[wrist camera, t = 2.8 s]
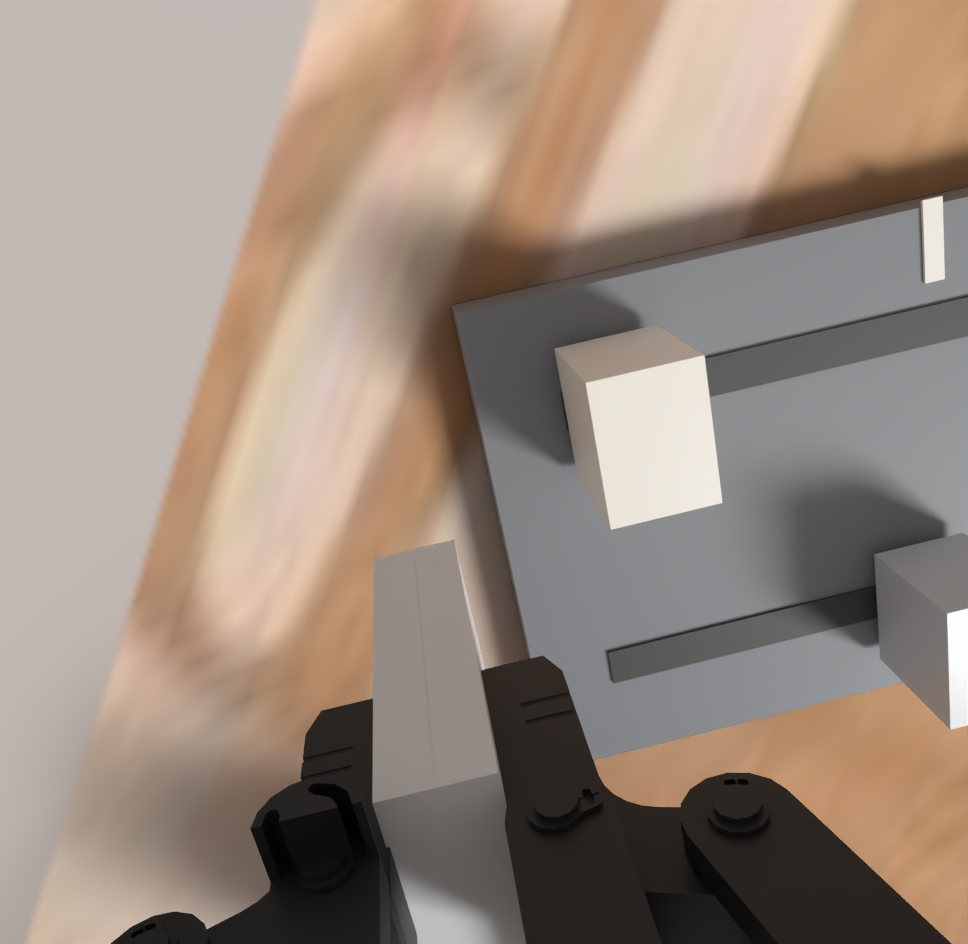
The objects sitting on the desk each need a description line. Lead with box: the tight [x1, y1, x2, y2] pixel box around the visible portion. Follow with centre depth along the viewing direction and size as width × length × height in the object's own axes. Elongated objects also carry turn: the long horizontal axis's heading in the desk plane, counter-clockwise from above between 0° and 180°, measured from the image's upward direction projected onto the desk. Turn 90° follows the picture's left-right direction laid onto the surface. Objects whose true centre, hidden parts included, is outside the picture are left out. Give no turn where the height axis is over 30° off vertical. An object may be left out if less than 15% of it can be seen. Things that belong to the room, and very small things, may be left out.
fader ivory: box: [554, 325, 723, 530], centre depth 25 cm, size 3×4×4 cm
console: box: [451, 187, 968, 760], centre depth 30 cm, size 20×16×2 cm
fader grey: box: [874, 533, 968, 730], centre depth 29 cm, size 3×4×4 cm
